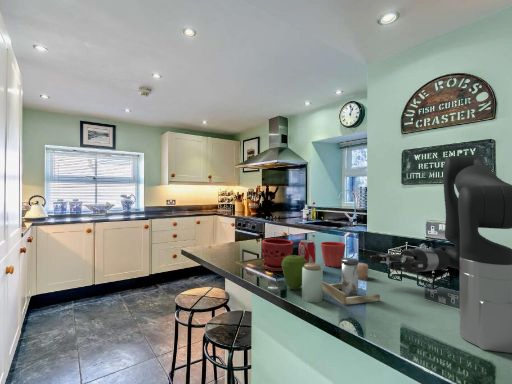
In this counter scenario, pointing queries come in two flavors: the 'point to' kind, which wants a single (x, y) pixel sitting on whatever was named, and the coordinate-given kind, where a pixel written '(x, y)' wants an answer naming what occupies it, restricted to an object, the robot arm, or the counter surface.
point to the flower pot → (333, 253)
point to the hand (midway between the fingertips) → (379, 262)
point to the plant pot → (275, 253)
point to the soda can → (307, 250)
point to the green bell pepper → (293, 270)
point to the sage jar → (312, 282)
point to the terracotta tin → (362, 271)
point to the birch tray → (341, 297)
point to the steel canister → (350, 277)
